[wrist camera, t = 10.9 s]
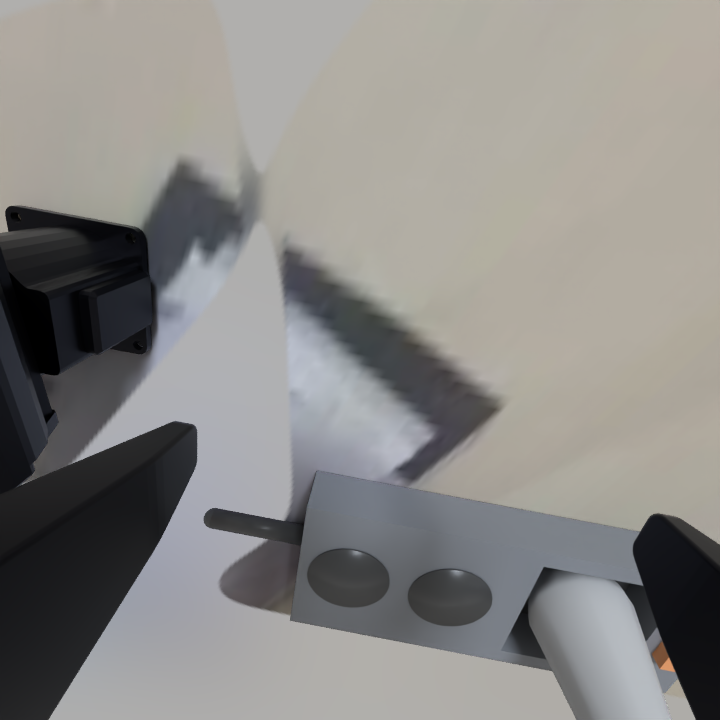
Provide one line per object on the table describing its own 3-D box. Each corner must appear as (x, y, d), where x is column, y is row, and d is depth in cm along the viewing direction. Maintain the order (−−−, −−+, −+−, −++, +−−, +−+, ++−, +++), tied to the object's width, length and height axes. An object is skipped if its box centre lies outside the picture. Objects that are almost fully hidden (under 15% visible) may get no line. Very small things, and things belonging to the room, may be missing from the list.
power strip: (207, 560, 28) (181, 613, 25) (209, 450, 25) (178, 494, 21) (639, 643, 28) (673, 707, 25) (711, 545, 24) (764, 606, 21)
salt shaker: (556, 619, 28) (674, 948, 16) (498, 576, 27) (580, 897, 15) (632, 579, 26) (834, 922, 14) (574, 530, 24) (740, 860, 13)
